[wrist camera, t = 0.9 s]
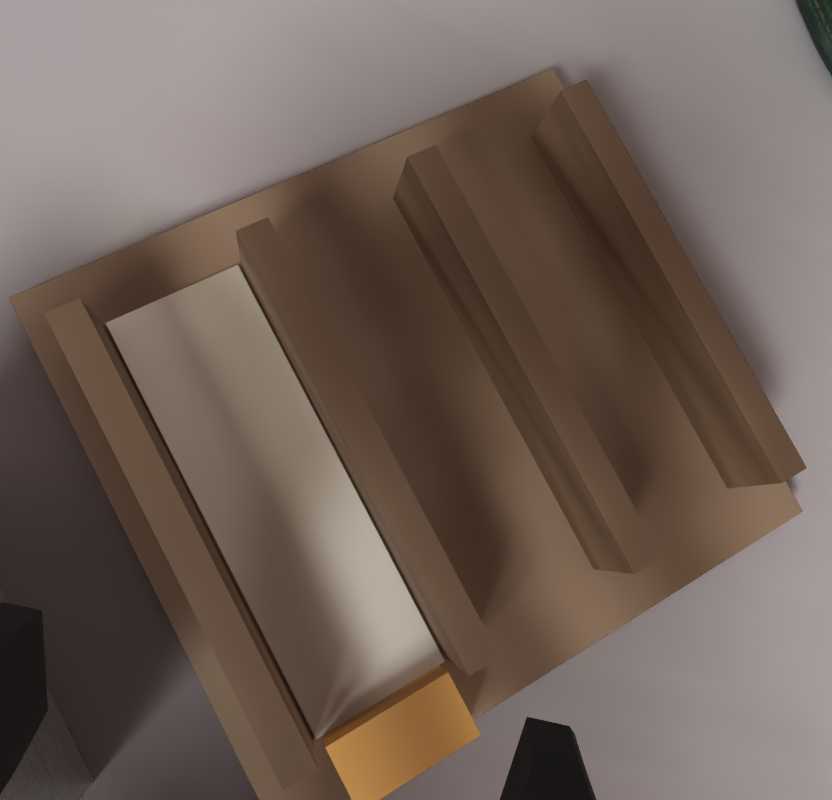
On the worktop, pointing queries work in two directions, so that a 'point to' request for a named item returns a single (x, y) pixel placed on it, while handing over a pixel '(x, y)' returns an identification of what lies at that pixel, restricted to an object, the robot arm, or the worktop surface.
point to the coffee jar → (819, 26)
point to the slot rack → (413, 431)
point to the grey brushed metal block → (49, 762)
